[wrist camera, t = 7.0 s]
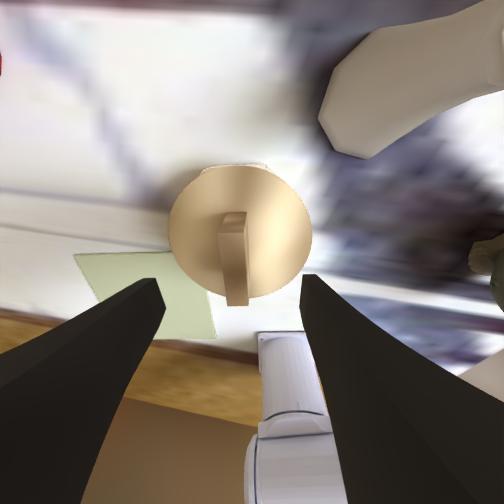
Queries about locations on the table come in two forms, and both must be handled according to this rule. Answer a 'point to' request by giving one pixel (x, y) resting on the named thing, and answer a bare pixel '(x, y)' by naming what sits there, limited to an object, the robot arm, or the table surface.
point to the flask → (412, 77)
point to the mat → (169, 281)
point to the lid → (240, 232)
